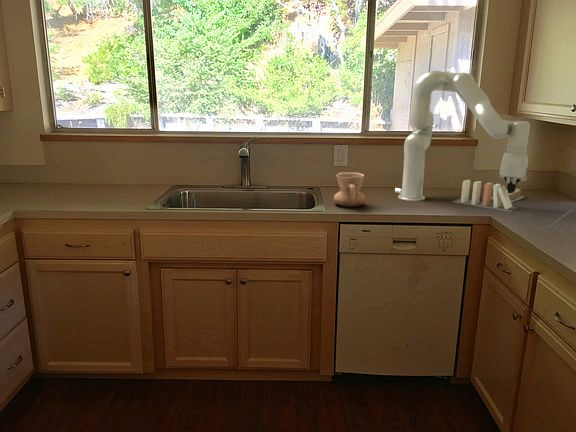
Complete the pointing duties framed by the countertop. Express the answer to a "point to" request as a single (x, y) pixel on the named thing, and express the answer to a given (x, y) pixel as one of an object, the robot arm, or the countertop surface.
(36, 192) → the countertop surface
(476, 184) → the domino
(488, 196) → the domino
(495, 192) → the domino
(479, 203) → the mat
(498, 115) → the robot arm
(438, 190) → the countertop surface
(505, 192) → the domino
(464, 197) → the domino
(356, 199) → the ceramic jug
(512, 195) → the packaged product
